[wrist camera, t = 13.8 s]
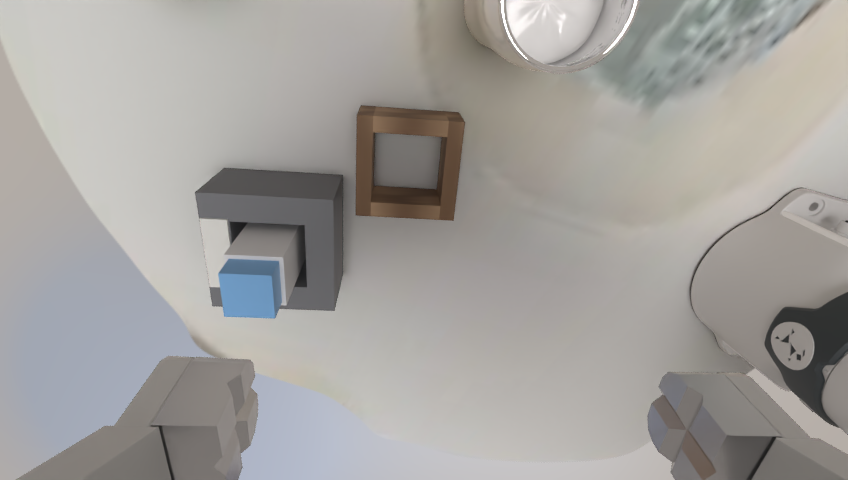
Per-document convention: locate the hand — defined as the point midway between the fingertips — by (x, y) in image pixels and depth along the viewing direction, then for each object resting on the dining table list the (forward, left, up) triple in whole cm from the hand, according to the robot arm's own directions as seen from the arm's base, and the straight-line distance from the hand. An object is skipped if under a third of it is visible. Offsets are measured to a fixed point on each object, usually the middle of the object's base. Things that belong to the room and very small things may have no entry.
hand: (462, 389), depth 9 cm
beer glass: (-6, -8, -31) cm, 33 cm away
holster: (0, +4, -31) cm, 31 cm away
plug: (+11, +11, -31) cm, 35 cm away
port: (+11, +11, -31) cm, 35 cm away
